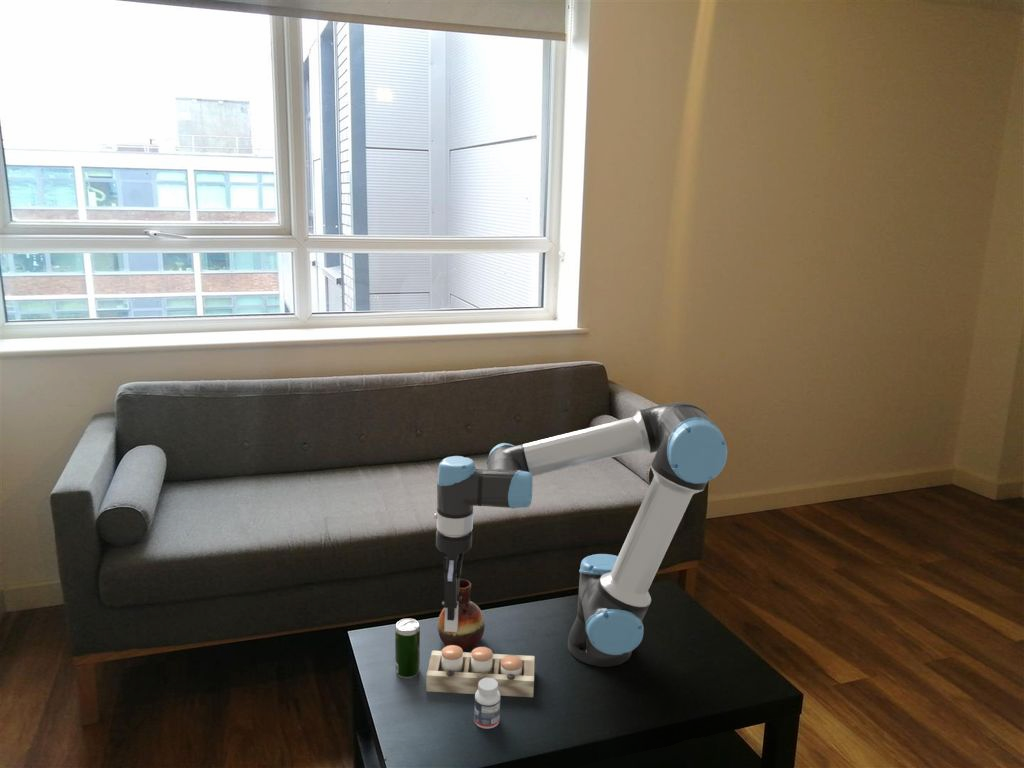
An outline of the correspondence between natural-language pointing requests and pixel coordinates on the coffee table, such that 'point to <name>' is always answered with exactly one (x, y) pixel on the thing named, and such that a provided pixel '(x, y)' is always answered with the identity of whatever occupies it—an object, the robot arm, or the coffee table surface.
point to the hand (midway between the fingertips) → (450, 629)
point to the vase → (464, 622)
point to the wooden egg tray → (480, 676)
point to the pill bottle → (487, 704)
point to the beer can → (407, 648)
